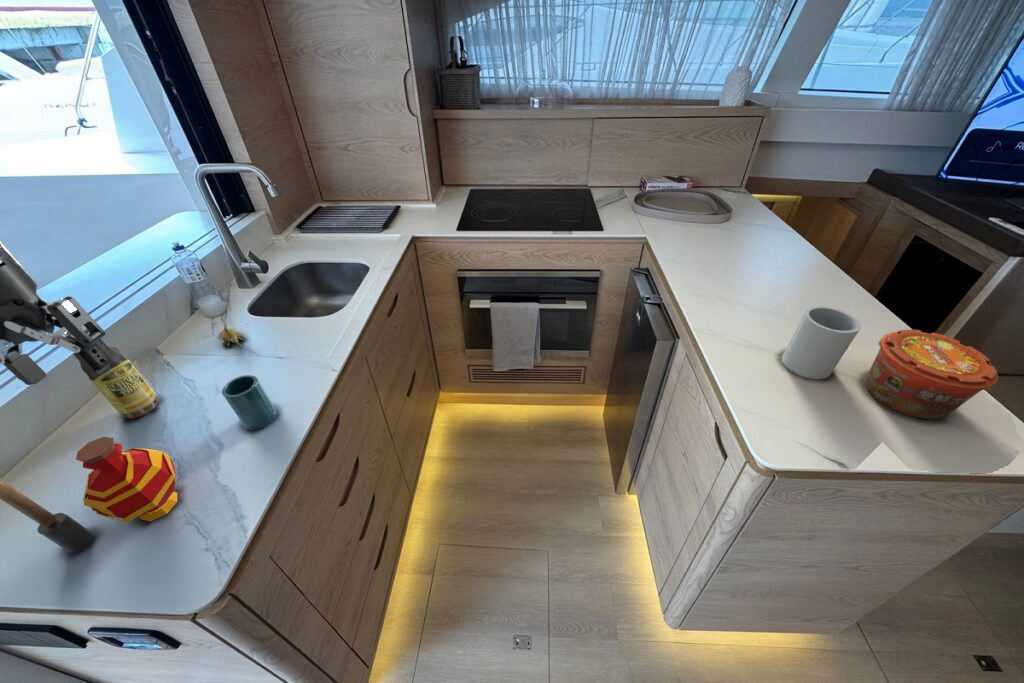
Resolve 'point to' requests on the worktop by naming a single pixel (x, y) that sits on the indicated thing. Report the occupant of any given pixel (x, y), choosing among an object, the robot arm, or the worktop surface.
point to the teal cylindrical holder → (249, 402)
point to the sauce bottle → (121, 383)
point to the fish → (229, 336)
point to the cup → (820, 342)
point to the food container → (927, 374)
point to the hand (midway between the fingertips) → (70, 375)
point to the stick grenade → (49, 521)
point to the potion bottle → (127, 481)
